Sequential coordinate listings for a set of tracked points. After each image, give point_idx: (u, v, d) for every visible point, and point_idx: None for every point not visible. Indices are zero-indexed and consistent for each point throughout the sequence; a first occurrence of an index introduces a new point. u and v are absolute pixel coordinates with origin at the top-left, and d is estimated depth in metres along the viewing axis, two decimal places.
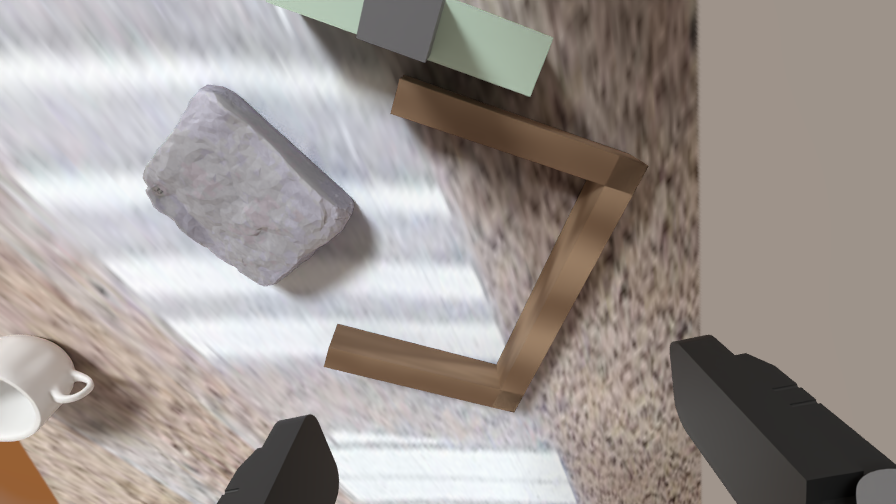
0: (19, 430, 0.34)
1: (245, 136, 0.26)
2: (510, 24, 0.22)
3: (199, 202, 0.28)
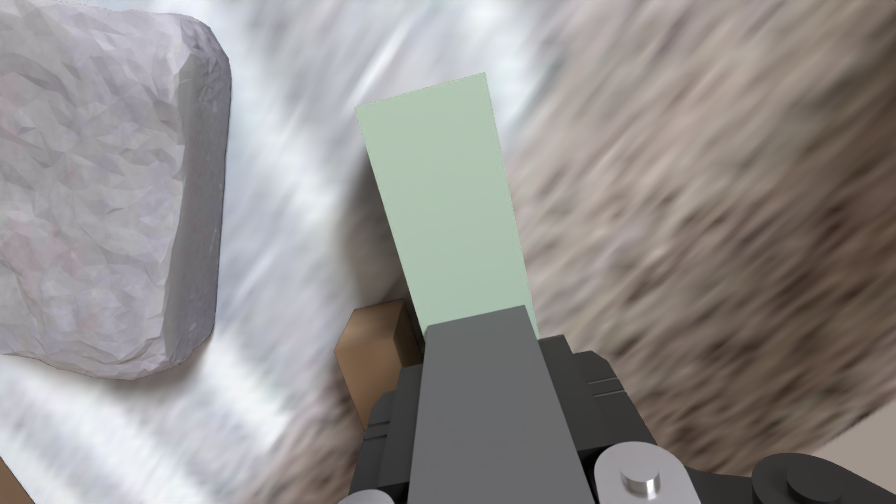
0: None
1: (157, 151, 0.12)
2: None
3: None
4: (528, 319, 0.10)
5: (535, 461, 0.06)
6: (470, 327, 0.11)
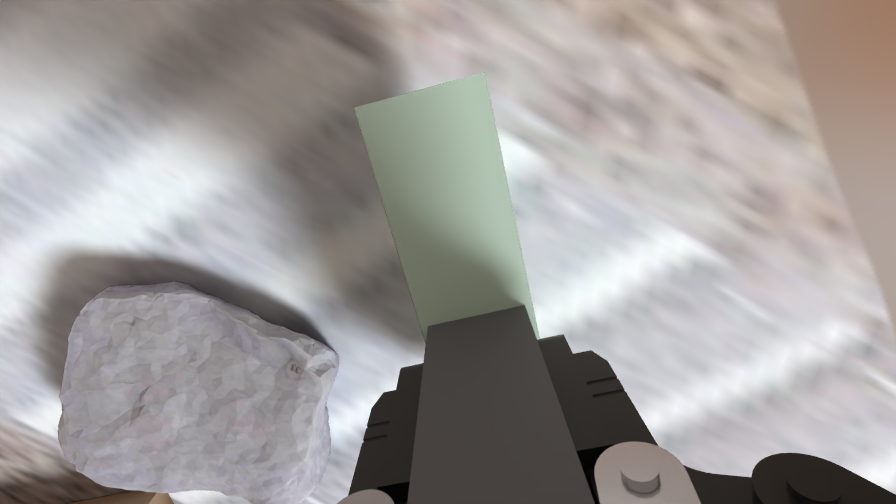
0: None
1: (235, 490, 0.20)
2: None
3: (234, 394, 0.19)
4: (528, 319, 0.10)
5: (535, 461, 0.06)
6: (470, 327, 0.11)
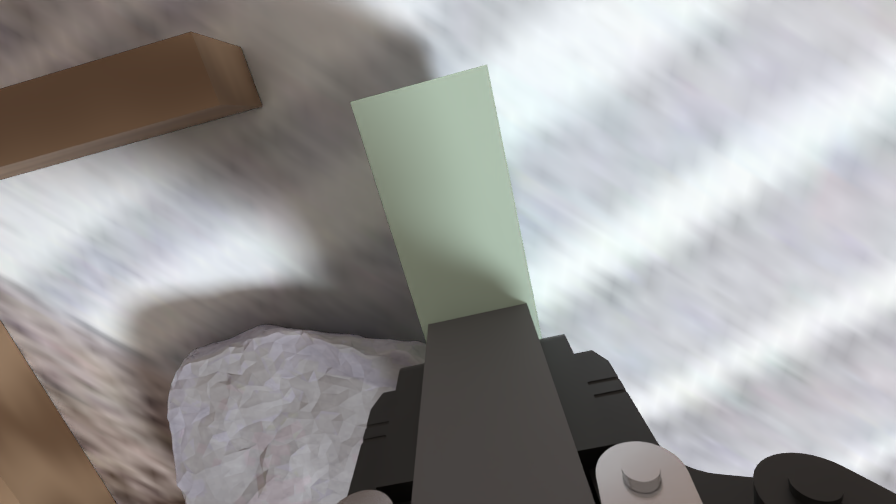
0: None
1: None
2: None
3: (360, 430, 0.16)
4: (530, 319, 0.10)
5: (539, 474, 0.06)
6: (471, 327, 0.11)
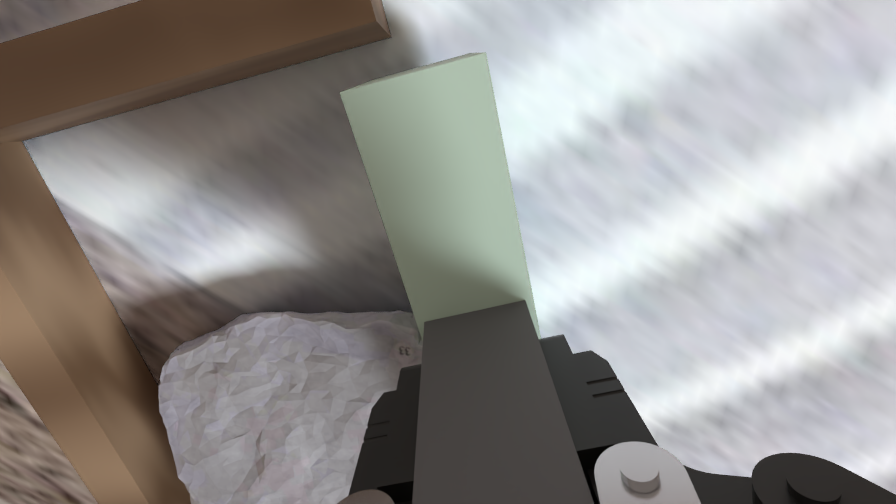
0: None
1: None
2: None
3: (351, 406, 0.16)
4: (529, 317, 0.10)
5: (543, 490, 0.06)
6: (469, 325, 0.10)
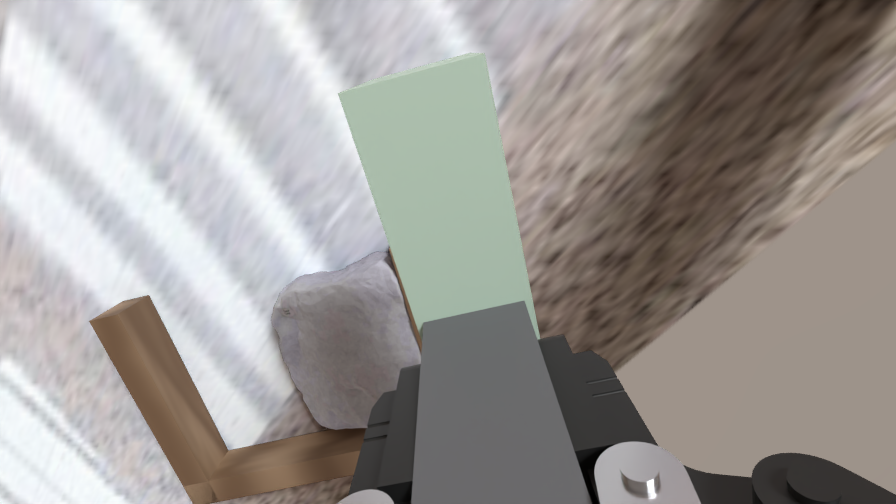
0: None
1: (399, 315, 0.28)
2: None
3: (319, 340, 0.28)
4: (528, 318, 0.10)
5: (541, 492, 0.06)
6: (468, 326, 0.10)
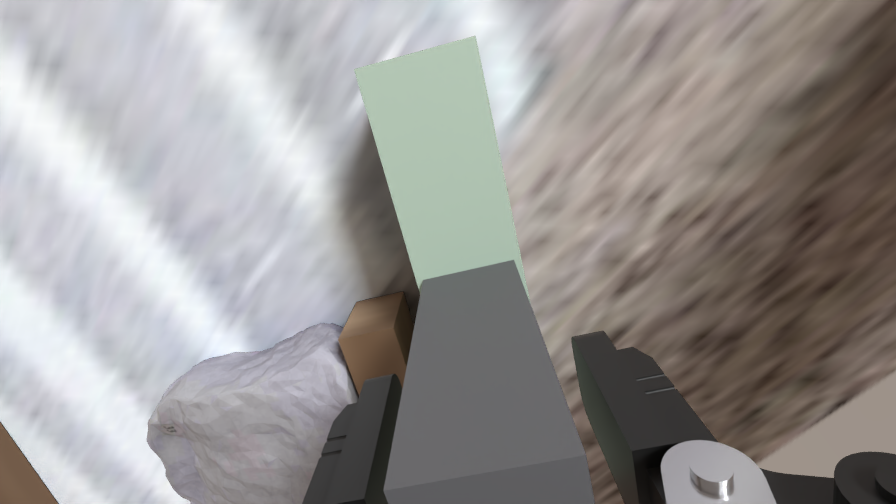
0: None
1: None
2: None
3: (225, 475, 0.17)
4: (516, 270, 0.11)
5: (514, 370, 0.07)
6: (462, 279, 0.11)
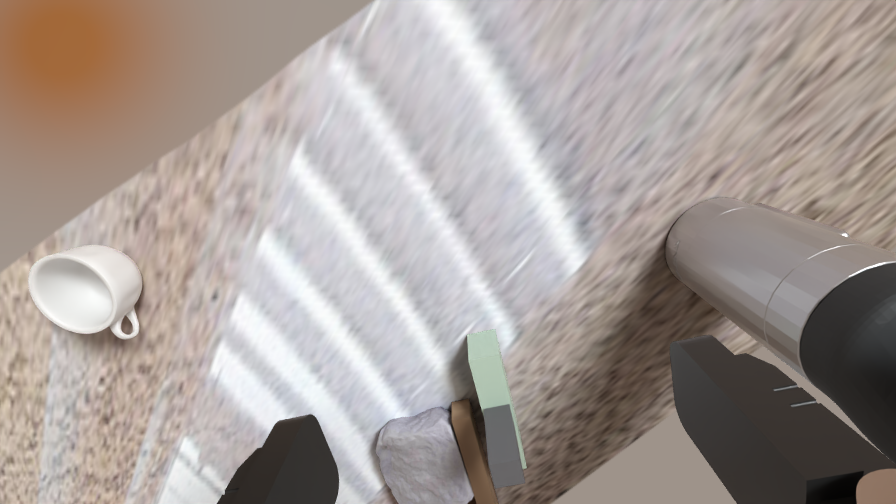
0: (61, 317, 0.40)
1: (452, 449, 0.47)
2: (521, 451, 0.44)
3: (404, 463, 0.47)
4: (510, 409, 0.42)
5: (509, 443, 0.38)
6: (495, 410, 0.42)
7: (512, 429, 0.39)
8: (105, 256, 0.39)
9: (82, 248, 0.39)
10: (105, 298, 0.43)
